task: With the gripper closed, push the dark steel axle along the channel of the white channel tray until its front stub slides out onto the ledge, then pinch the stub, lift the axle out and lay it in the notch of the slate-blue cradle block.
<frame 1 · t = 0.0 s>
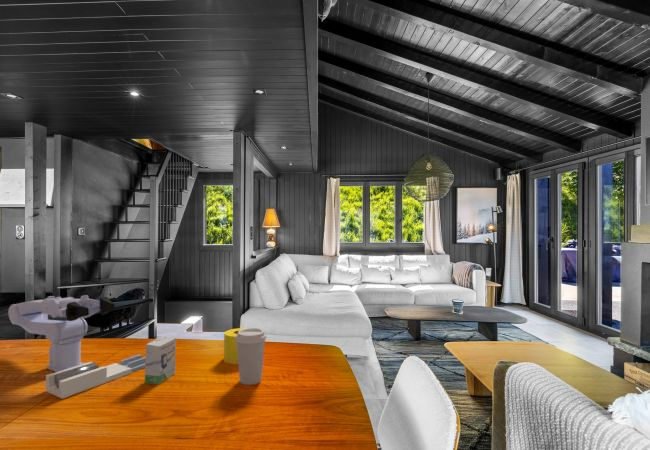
hand: (100, 309, 111), 22 cm above the table, tool horizontal, fingers open, 7 cm apart
white channel tray: (77, 386, 107), on the table
yellow cylinder: (238, 359, 130), on the table
coffee cup: (250, 381, 112), on the table
axle: (77, 374, 107), point 3 cm above the table, touching white channel tray
cradle: (134, 366, 122), on the table
ink box: (160, 379, 113), on the table
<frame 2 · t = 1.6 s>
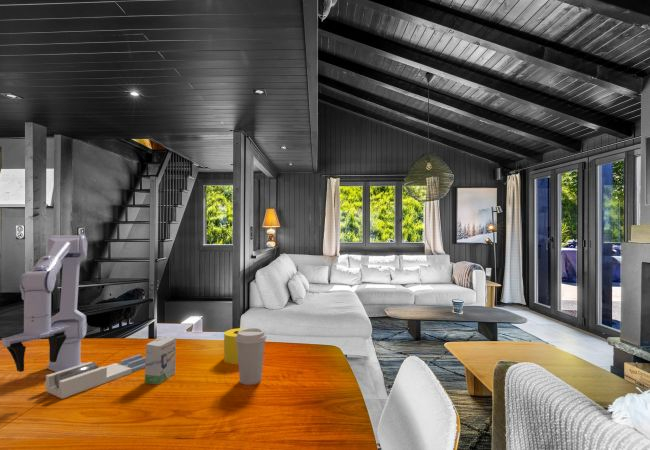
hand: (37, 365, 98), 9 cm above the table, tool pointing down, fingers open, 7 cm apart
nothing on the table moved.
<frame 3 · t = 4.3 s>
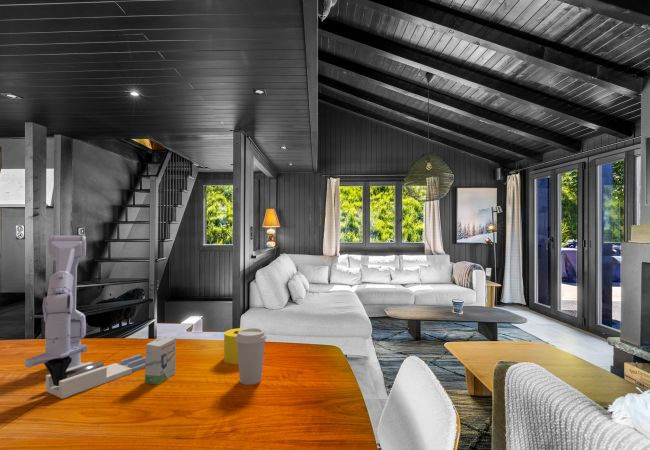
hand: (57, 384, 102), 2 cm above the table, tool pointing down, fingers closed
axle: (83, 373, 107), point 4 cm above the table, tilted 16°, touching gripper
everything else where it was.
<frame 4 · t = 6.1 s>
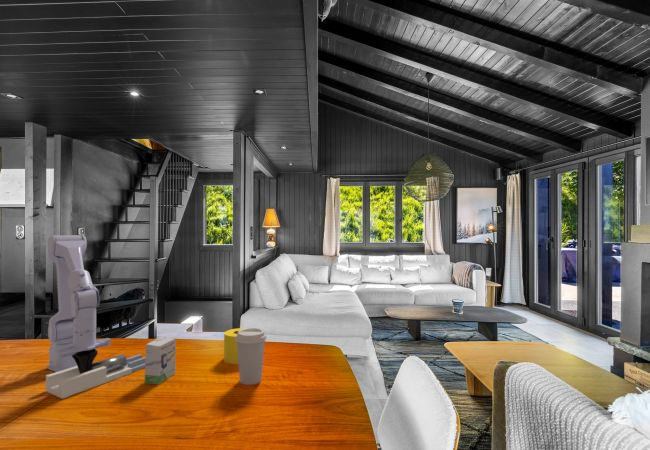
hand: (84, 375, 108), 2 cm above the table, tool pointing down, fingers closed
axle: (107, 365, 114), point 3 cm above the table, tilted 18°, touching white channel tray, gripper
everything else where it was.
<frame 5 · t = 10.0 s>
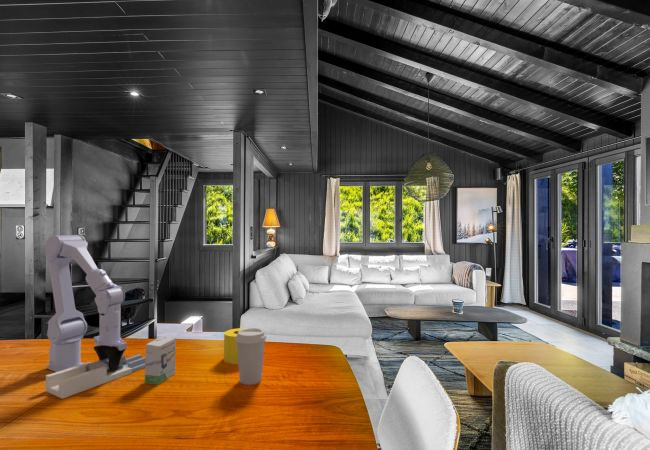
hand: (109, 368, 115), 2 cm above the table, tool pointing down, fingers closed on axle, 4 cm apart
axle: (106, 365, 114), point 3 cm above the table, touching white channel tray, gripper
everything else where it was.
when the fingers open (4 cm above the table, at t = 13.0 s): axle stays where it is, resting on cradle.
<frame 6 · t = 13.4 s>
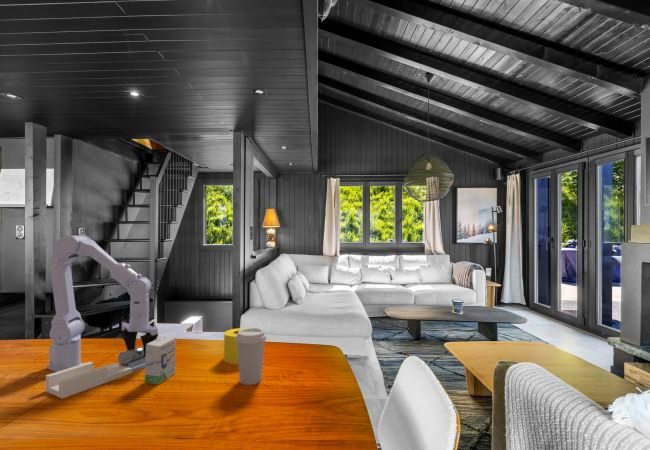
hand: (139, 353, 124), 4 cm above the table, tool pointing down, fingers open, 7 cm apart
axle: (136, 354, 122), point 4 cm above the table, tilted 18°, touching cradle
everything else where it was.
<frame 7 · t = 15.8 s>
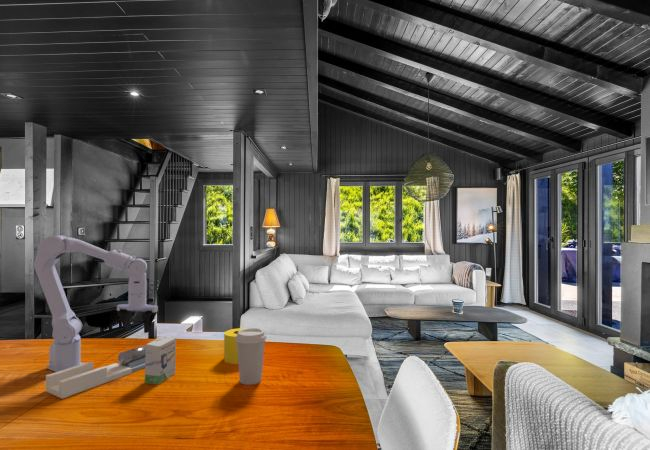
hand: (137, 331, 128), 10 cm above the table, tool pointing down, fingers open, 7 cm apart
nothing on the table moved.
at the end: axle 0.3 cm from the target spot, point 3.9 cm above the table; the gripper is holding nothing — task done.
